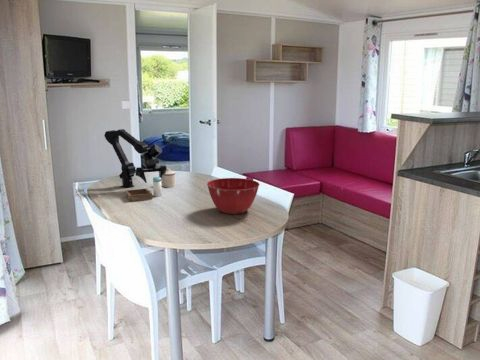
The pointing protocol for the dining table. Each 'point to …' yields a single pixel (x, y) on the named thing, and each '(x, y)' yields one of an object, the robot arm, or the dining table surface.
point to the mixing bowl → (233, 194)
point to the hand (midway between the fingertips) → (153, 182)
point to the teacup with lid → (168, 179)
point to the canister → (157, 186)
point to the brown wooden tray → (138, 195)
